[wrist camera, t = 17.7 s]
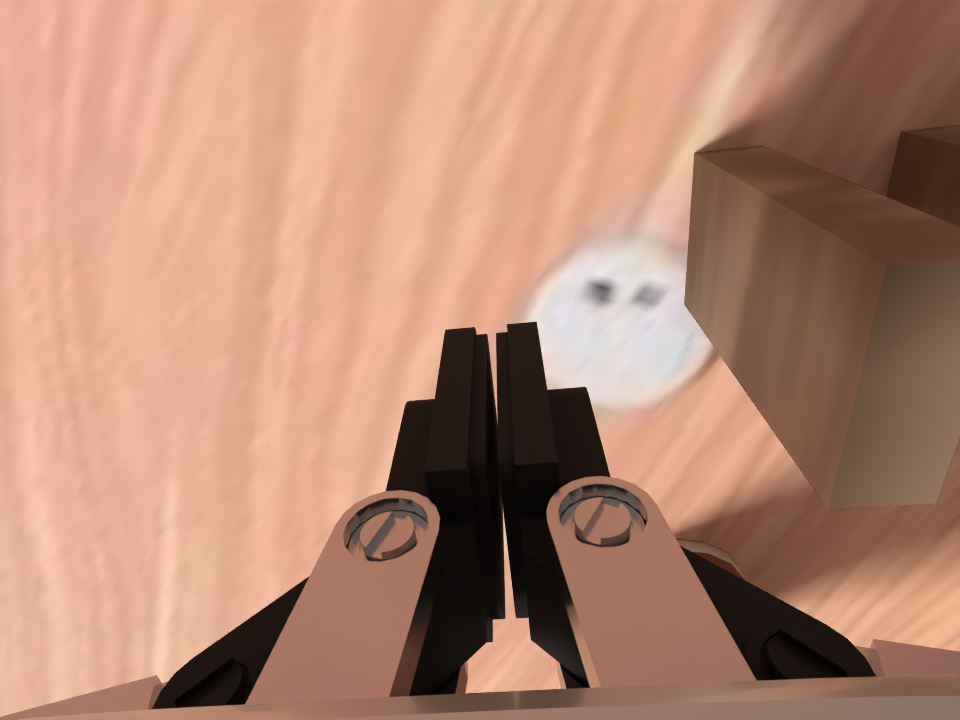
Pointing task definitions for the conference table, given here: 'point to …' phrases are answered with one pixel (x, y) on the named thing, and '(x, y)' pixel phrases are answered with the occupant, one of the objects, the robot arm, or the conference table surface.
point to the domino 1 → (832, 321)
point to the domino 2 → (929, 172)
